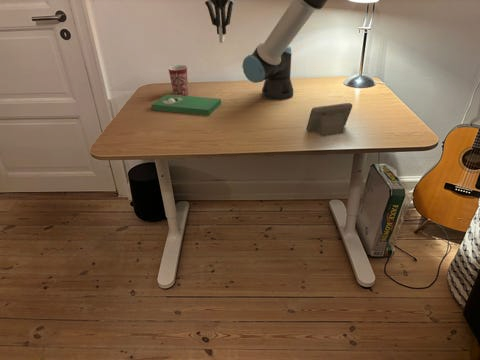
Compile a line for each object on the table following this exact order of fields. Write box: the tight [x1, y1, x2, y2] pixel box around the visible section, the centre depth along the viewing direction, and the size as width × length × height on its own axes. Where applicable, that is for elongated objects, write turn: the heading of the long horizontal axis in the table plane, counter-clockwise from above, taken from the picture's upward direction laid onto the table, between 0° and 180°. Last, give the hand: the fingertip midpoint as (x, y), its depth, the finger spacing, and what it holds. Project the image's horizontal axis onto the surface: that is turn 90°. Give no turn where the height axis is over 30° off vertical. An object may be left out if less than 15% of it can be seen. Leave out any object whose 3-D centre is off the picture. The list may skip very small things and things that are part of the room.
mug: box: [167, 64, 189, 96], centre depth 171 cm, size 13×9×14 cm
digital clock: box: [305, 102, 353, 137], centre depth 129 cm, size 16×9×11 cm, turn 92°
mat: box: [151, 93, 222, 116], centre depth 158 cm, size 28×14×2 cm, turn 71°
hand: (222, 41), depth 158 cm, fingers closed
